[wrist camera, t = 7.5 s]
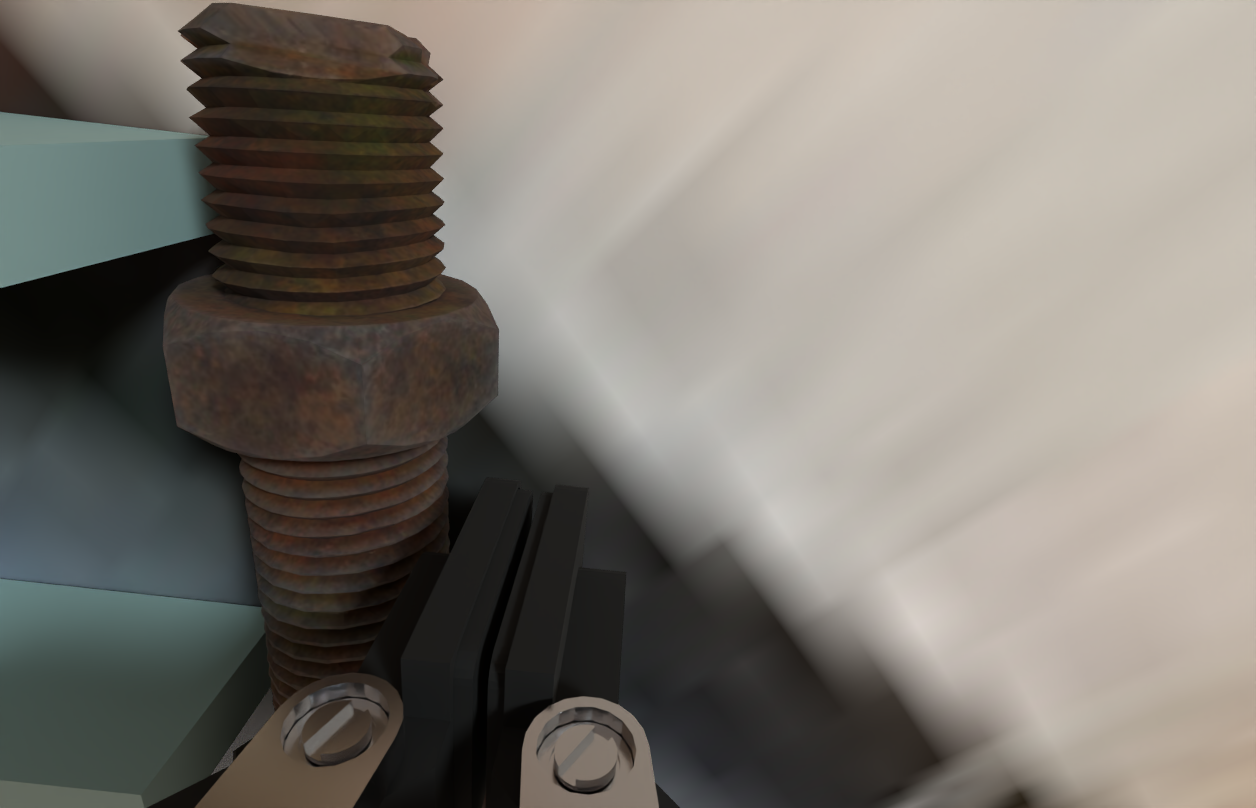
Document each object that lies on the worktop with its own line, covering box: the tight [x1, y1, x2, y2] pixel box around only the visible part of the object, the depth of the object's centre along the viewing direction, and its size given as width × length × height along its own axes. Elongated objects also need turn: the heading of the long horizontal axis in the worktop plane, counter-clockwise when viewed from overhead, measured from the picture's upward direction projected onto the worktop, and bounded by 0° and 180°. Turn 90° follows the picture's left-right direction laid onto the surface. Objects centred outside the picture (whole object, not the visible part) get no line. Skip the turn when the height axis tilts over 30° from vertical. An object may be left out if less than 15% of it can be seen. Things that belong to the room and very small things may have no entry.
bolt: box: [163, 3, 499, 808], centre depth 12 cm, size 6×5×15 cm
